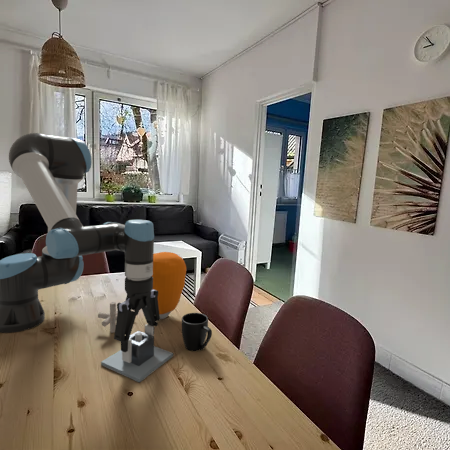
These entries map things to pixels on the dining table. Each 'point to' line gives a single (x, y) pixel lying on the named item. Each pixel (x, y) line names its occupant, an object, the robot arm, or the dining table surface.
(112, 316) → the light grey toy jack
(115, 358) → the post block
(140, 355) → the collar
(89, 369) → the dining table surface
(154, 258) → the orange egg-shaped ornament
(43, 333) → the dining table surface
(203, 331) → the mug
